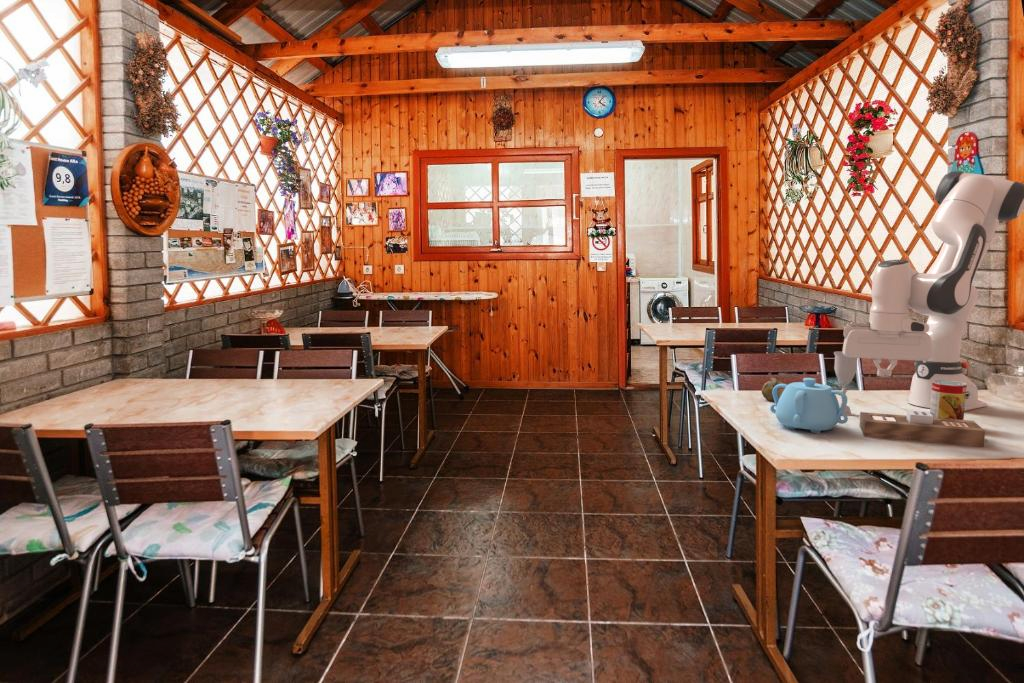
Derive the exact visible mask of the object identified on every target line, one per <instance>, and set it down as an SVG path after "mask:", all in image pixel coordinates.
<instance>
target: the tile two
mask: <svg viewBox="0 0 1024 683" xmlns="http://www.w3.org/2000/svg"><path fill="white" fill-rule="evenodd" d="M906 416H907V418H906V420H907V421H908V423H920V424H933V416H932V415H931V414H930V411H920V410H919V411H918V410H906Z"/></svg>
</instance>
